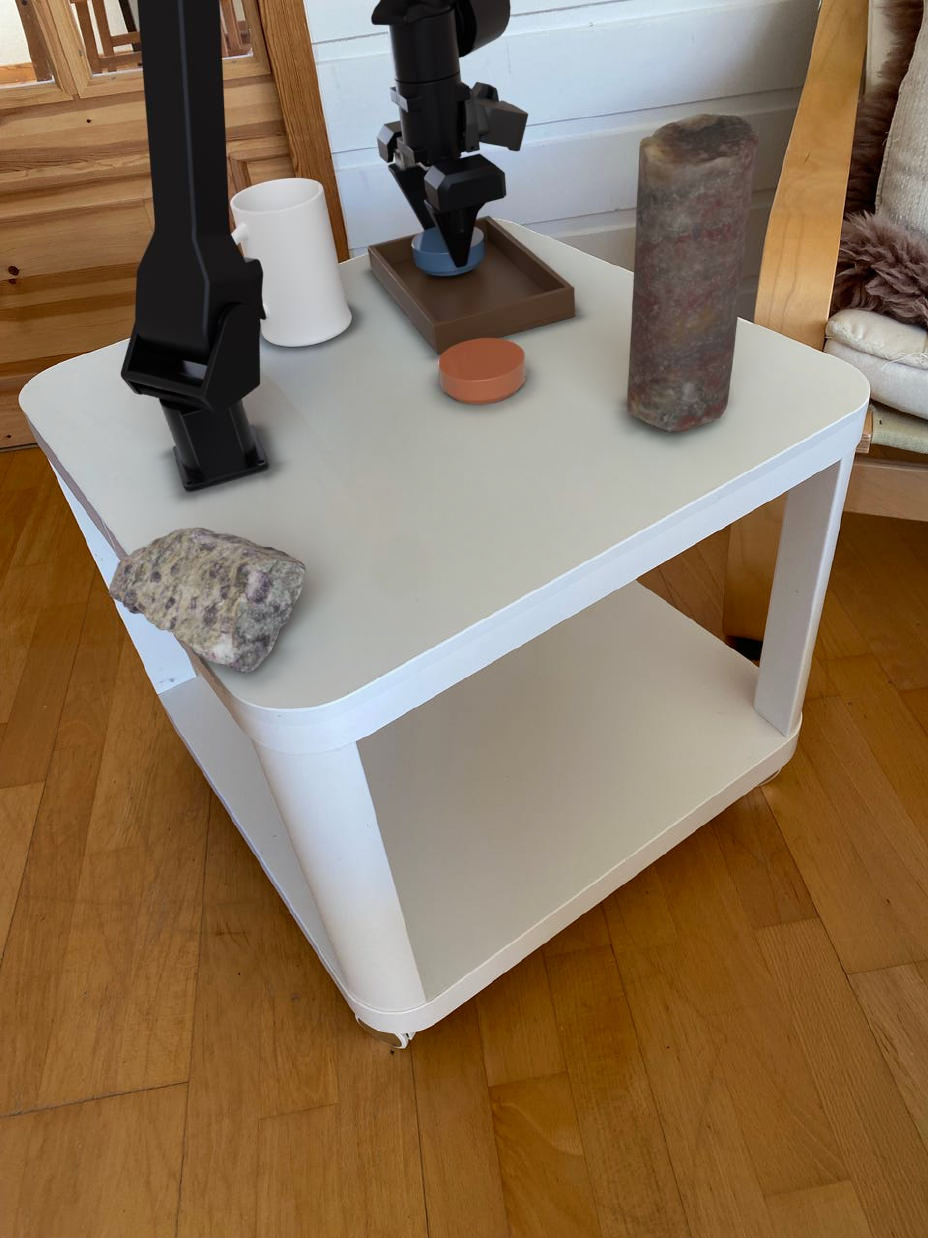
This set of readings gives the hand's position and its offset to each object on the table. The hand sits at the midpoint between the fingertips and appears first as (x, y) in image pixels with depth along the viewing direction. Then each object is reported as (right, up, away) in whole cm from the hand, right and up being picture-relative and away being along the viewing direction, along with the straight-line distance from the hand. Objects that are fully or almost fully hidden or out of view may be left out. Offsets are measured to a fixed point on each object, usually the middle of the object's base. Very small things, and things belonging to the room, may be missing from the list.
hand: (448, 253), depth 92 cm
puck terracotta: (+3, -16, -14) cm, 22 cm away
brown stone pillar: (+18, -20, -21) cm, 34 cm away
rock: (-17, -38, -36) cm, 55 cm away
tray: (+2, -4, -1) cm, 5 cm away
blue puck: (0, -1, +1) cm, 1 cm away
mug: (-14, -9, -4) cm, 17 cm away
